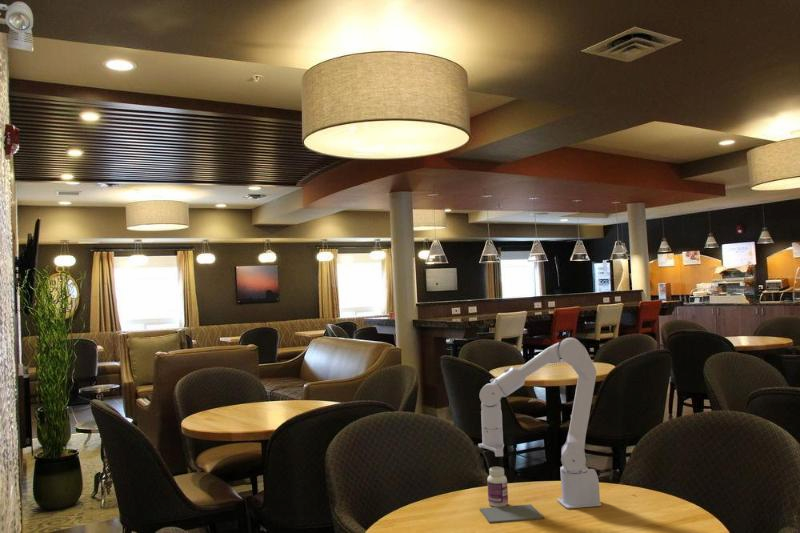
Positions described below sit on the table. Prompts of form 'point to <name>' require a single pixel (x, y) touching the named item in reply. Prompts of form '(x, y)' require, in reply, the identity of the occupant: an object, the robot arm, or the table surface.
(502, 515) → the mat
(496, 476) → the pill bottle
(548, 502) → the table surface
